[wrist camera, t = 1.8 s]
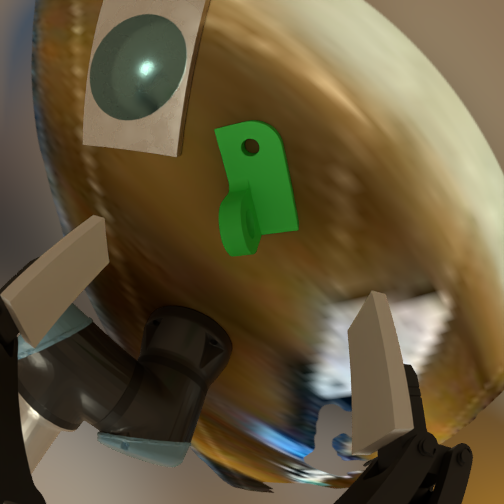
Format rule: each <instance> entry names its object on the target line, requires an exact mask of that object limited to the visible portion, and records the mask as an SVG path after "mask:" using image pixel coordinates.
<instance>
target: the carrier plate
mask: <svg viewBox="0 0 504 504" xmlns="http://www.w3.org/2000/svg"><path fill="white" fill-rule="evenodd" d="M209 3H210V0H104V1H103V4H102V8H101V11H100V15H99V19H98V23H97V27H96V31H95V36H94V41H93V46H92V51H91V57H90V63H89V70H88V77H87V85H86V95H85V107H84V123H83V145H92V146H102V147H111V148H119V149H127V150H134V151H141V152H148V153H155V154H161V155H167V156H173V157H178V156H180V155H181V150H182V142H183V135H184V127H185V120H186V114H187V107H188V101H189V95H190V89H191V83H192V78H193V73H194V68H195V63H196V58H197V53H198V48H199V44H200V39H201V35H202V31H203V27H204V23H205V19H206V15H207V11H208V7H209Z"/></svg>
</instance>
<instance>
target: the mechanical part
mask: <svg viewBox="0 0 504 504" xmlns="http://www.w3.org/2000/svg"><path fill="white" fill-rule="evenodd" d="M214 131H215V134H216V138H217V142H218V145H219V149H220V152H221V156H222V160H223V163H224V167H225V171H226V174H227V178H228V182H229V193H228V195H227V196H226V197H225V198H224V200H223V201H222V202H221V205H220V208H219V230H220V235H221V239H222V243H223V245H224V248H225V250H226V251H227V253H228V254H229V255H230V256H242V255H251V254H255V253H256V251H257V248H258V245H259V242H260V238H261V235H265V234H272V233H280V232H288V231H296V230H299V220H298V215H297V209H296V204H295V199H294V194H293V188H292V183H291V178H290V173H289V168H288V164H287V159H286V154H285V150H284V145H283V141H282V138H281V136H280V134H279V133H278V132H277V130H276V129H275V128H274V127H272V126H271V125H269V124H268V123H265V122H263V121H258V120H250V121H245V122H241V123H237V124H232V125H228V126H224V127H221V128H217V129H214ZM247 139H254V140H256V141H257V142H258V144H259V152H257V153H250V152H248V151H247V150H246V148H245V141H246V140H247Z"/></svg>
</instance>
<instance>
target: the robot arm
mask: <svg viewBox="0 0 504 504" xmlns="http://www.w3.org/2000/svg"><path fill="white" fill-rule="evenodd" d="M108 263H109V257H108V249H107V240H106V230H105V219H104V218H102V217H98V216H95V215H93V216H92V217H90V218H89V219H87V220H86V221H85V222H83V223H82V224H81V225H79V226H78V227H77V228H75V229H74V230H73V231H71V232H70V233H69V234H68V235H66V236H65V237H64V238H63V239H61V240H60V241H59V242H58V243H57V244H55V245H54V246H53V247H51V248H50V249H49V250H48V251H47V252H46V253H44V254H43V255H42V256H41V257H38V258H36V259H34V260H32V261H30V262H29V263H28V264H27V265H26V266H24V267H23V269H21V270H20V271H19V272H18V273H17V275H15V276H14V277H13V278H11V280H9V281H8V282H7V283H6V284H5V285H4V286H3V287H2V288H1V289H0V504H46V502H45V500H44V498H43V496H42V494H41V493H40V492H39V491H38V490H37V488H36V487H35V485H34V483H33V480H32V476H31V474H32V472H33V471H34V469H35V468H36V466H37V464H38V463H39V462H40V460H41V459H42V457H43V456H44V454H45V453H46V451H47V450H48V449H49V447H50V446H51V444H52V443H53V441H54V440H55V439H56V437H57V436H58V434H59V433H60V431H68V432H72V431H75V430H76V429H77V428H78V427H79V426H80V424H81V423H82V422H83V421H87V422H88V423H89V424H91V425H92V426H94V427H95V428H97V429H98V430H99V431H100V432H98V433H97V435H98V437H97V440H98V441H99V442H100V443H102V444H104V445H106V446H107V447H109V448H111V449H113V450H115V451H118V452H120V453H123V454H125V455H128V456H131V457H133V458H136V459H139V460H142V461H145V462H149V463H152V464H156V465H160V466H165V467H176V466H178V465H180V464H181V463H182V462H183V459H184V457H185V455H186V453H187V450H188V448H189V446H191V439H192V436H193V433H194V430H195V427H196V424H197V421H198V418H199V415H200V412H201V409H202V406H203V403H204V400H205V396H206V393H207V391H208V388H209V386H210V385H211V384H212V383H213V382H214V380H215V379H216V378H217V377H218V376H219V374H220V373H221V372H222V371H223V369H224V368H225V367H226V365H227V364H228V361H229V358H230V355H231V351H232V345H231V341H230V339H229V337H228V335H227V334H226V332H225V331H224V330H223V329H222V328H221V327H220V326H219V325H218V324H217V323H216V322H214V321H213V320H212V319H210V318H208V317H207V316H205V315H203V314H201V313H199V312H197V311H194V310H191V309H188V308H184V307H178V306H166V307H162V308H159V309H157V310H155V311H154V312H153V313H152V314H151V316H150V318H149V319H148V321H147V323H146V325H145V328H144V333H143V339H142V345H141V352H140V356H139V358H138V360H135V359H134V358H133V357H132V356H131V355H129V354H128V353H127V352H126V351H125V350H123V349H122V348H121V347H120V346H119V345H118V344H117V343H115V342H114V341H113V340H112V339H111V338H110V337H109V336H108V335H106V334H105V333H104V332H103V331H102V330H101V329H100V328H99V327H98V326H97V325H96V324H95V323H94V322H93V320H92V319H91V318H88V317H87V316H86V315H85V314H84V313H83V312H82V311H80V310H79V309H78V308H77V307H76V306H75V305H74V304H73V303H72V302H73V301H74V300H75V299H76V298H77V297H78V295H79V294H80V293H81V292H82V291H83V290H84V289H85V288H86V287H87V286H88V285H89V283H90V282H91V281H92V280H93V279H94V278H95V277H96V276H97V275H98V274H99V273H100V272H101V271H102V270H103V269H104V268H105V267H106V265H107V264H108ZM19 332H20V335H19V336H18V337H17V334H18V333H19ZM348 341H349V354H350V369H351V390H352V455H370V454H372V453H373V452H375V451H377V450H378V457H376V458H374V459H372V460H370V461H368V462H366V463H365V464H364V465H363V466H367V465H369V464H370V465H369V466H368V467H367V468H366V470H365V471H364V472H363V473H362V474H361V475H360V477H359V478H358V479H357V480H356V481H355V482H354V483H353V484H352V485H351V486H350V488H349V489H348V490H347V491H346V492H345V493H344V494H343V495H342V496H341V497H340V498H339V499H338V500H337V501H336V502H335V503H334V504H461V503H462V500H463V497H464V493H465V490H466V486H467V483H468V479H469V474H470V470H471V465H472V459H473V455H472V451H471V449H470V447H469V446H468V445H467V444H464V443H461V444H458V445H456V446H455V447H453V448H450V447H446V446H443V445H439V444H438V443H437V440H436V438H435V437H434V436H433V435H432V434H431V433H429V432H427V429H426V423H425V416H424V410H423V404H422V398H420V396H421V393H420V389H419V383H418V378H417V375H416V373H415V371H414V369H413V368H412V366H411V365H407V364H403V360H402V355H401V351H400V346H399V342H398V338H397V334H396V330H395V326H394V322H393V318H392V315H391V311H390V307H389V304H388V300H387V297H386V294H383V293H379V292H375V291H371V293H370V294H369V296H368V298H367V300H366V301H365V303H364V305H363V306H362V308H361V310H360V311H359V313H358V315H357V316H356V318H355V320H354V321H353V323H352V324H351V326H350V328H349V329H348ZM434 485H435V488H434V490H433V487H434Z"/></svg>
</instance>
